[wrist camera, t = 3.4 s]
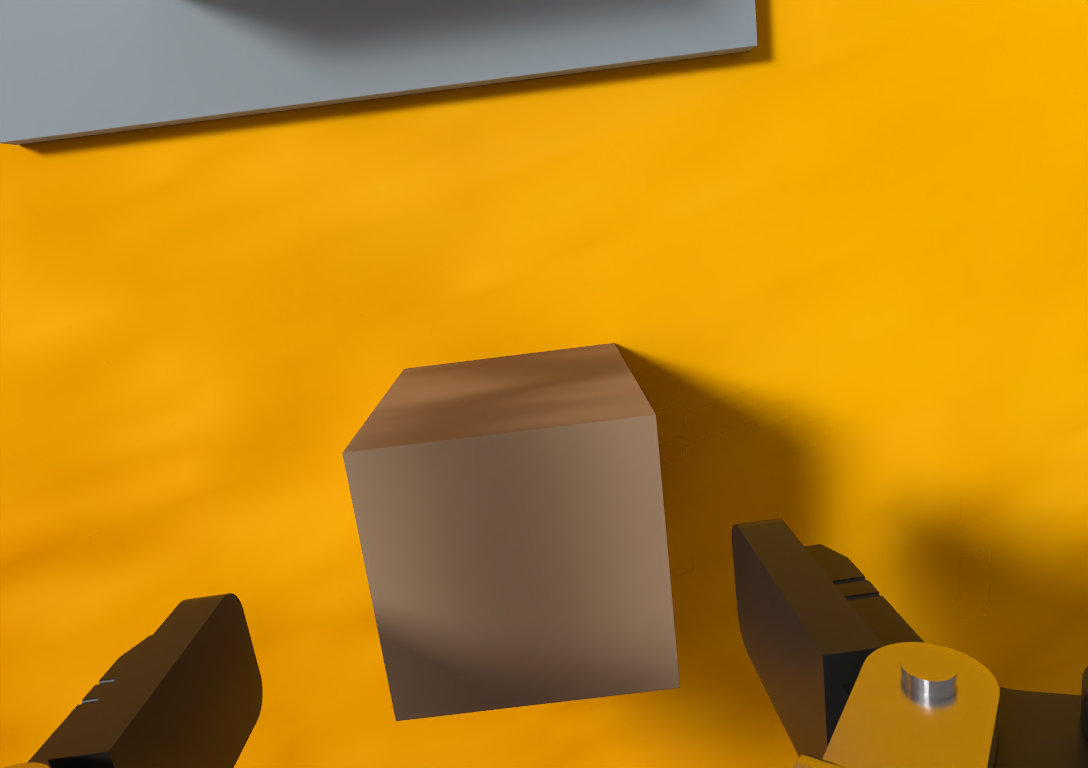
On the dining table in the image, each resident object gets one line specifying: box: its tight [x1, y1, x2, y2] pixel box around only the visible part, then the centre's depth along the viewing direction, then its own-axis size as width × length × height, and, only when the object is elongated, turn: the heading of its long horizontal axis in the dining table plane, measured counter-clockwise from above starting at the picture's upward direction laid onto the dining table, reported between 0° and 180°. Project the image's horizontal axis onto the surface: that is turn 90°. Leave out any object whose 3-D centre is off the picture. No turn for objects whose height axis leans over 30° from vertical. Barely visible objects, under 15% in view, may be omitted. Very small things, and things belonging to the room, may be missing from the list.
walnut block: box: [343, 343, 680, 721], centre depth 15 cm, size 5×5×6 cm
